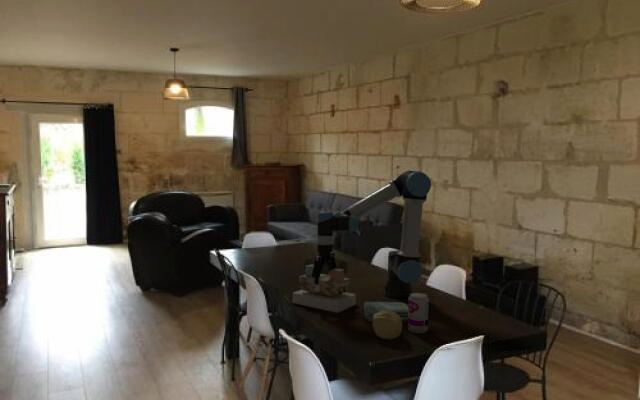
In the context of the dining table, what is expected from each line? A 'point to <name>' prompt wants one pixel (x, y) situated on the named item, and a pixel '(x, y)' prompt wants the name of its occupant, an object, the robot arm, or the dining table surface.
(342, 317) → the dining table surface
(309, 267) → the grey cube
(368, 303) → the towel
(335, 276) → the block
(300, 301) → the dock
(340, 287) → the board
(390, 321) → the tan round ball
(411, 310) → the supplement can
